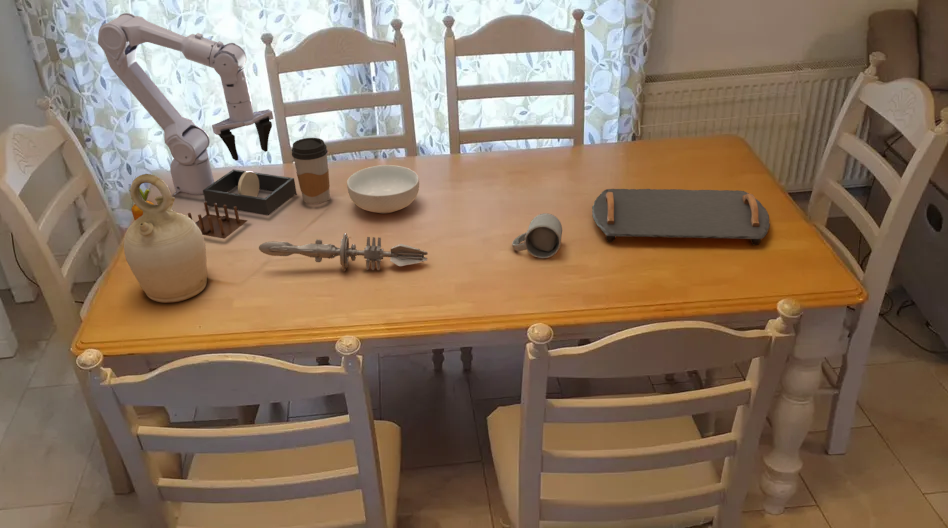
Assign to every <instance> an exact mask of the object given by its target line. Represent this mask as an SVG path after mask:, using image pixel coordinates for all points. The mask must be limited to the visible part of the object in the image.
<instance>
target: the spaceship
mask: <svg viewBox="0 0 948 528" xmlns="http://www.w3.org/2000/svg"><path fill="white" fill-rule="evenodd" d="M258 250H259V251H260V252H261V253H262V254H265V255H267V256H273V257H289V256H291V255H302V256H304V257H308V258H314V261H315V263H321V262H322V261H323V259H332V260H333V259H335V258H336V257H339V263H340V265H341V269H342V271H343V272H345V271H346V270H347V268H348V267H349V266H348V265H349V260H351V262H355V261H356V258H357V256H362V257H363V259H365V260H364V262H365V269H366V270H370V263H371V271H375V266H376V270H377V271H380V270H381V263H382V260H384V258H390V259H389V260H390V261H389V262H390V263H392V264H394V265H396V266H398V267H404V266H409V265H410V266H411V265H414V264H420V263H423V262H426V261H428V257H426V256H427V255H428V251H427V250H423V249H420V248H417V247H415V246H410V245H408V244H403V243H399V244H397V245H394V246H392V247H390V251H386V250H384V248H382V237H377V243H376V237H374V236H373V237H372V241H371V237H370V236H367V237H366V244H365V247H364V248H363V250H362V249H361V250H360V249H357V246H356V244H355V243H352V244H351V246H350V237H348V234H347V233H346V232H345V233H343V235H342V238H341V240H340V247H338V246H336V245H335V244H332V243H329V244H327V243H323V240H322V239H318V238H316V239H315V243H307V244H301V245H294V244H292V243H291V242H288V241H275V240H273V241H265V242H262V243H261V244H260V245H258Z"/></svg>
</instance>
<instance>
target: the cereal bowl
mask: <svg viewBox="0 0 948 528" xmlns="http://www.w3.org/2000/svg"><path fill="white" fill-rule="evenodd" d="M346 188H347V192H348V195H349V197H350V199H351V201H352V203H354V204H355V205H356V206H357V207H358V208H360V209H362V210H364V211H367V212H370V213H376V214H382V215H383V214H390V213H391V214H392V213H394V212H398V211H400V210H402V209H404V208H406V207H408V206H410V205H411V204H412V203H413V202H414V201H415V199H416V198H417V197H418V194H419V191H420V177H419V175H418V174H417V172H416V171H414V170H413V169H411V168H408V167H406V166H402V165H395V164H380V165H379V164H378V165H373V166H369V167H365V168H361V169H360V170H356V171H355V172H354V173H352V174H351V175H350V176H349V177H348V178H347V180H346Z"/></svg>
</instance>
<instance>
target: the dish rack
mask: <svg viewBox="0 0 948 528" xmlns="http://www.w3.org/2000/svg"><path fill="white" fill-rule="evenodd" d="M203 205H204V209H205V214H206V215H204V216H202V214H197V218H198V220H197V221H196V222H195V224H196V225H197V226H198V227H199V229H200V231H201V232H202V235H203V236H207V237H212V238H218V239H222V240H223V239H224V240H225V239H226V238H227V237H229V236H230V235H231V234H233V233H234V232H235V231H237V230H238V229H239V228H240V227H242V226H243V225H245V223H247V222H248V219H241V218H240V217H239V210H237V207H236V206H234V210H233V213H234V216H235V217H230V215H229V211H228V210H229V209H227V206H226V205H223V207H224V208H223V211H224V215H220V211H219V207H218V206H217V203H214V206H213V207H214V211H215V214H211V213H210V210H209V206H208V205H207V202H206V201H205V200H204V201H203ZM187 216H188V217H189V218H191V219H192V220H193V217H192V213H191V212H188V213H187Z"/></svg>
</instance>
